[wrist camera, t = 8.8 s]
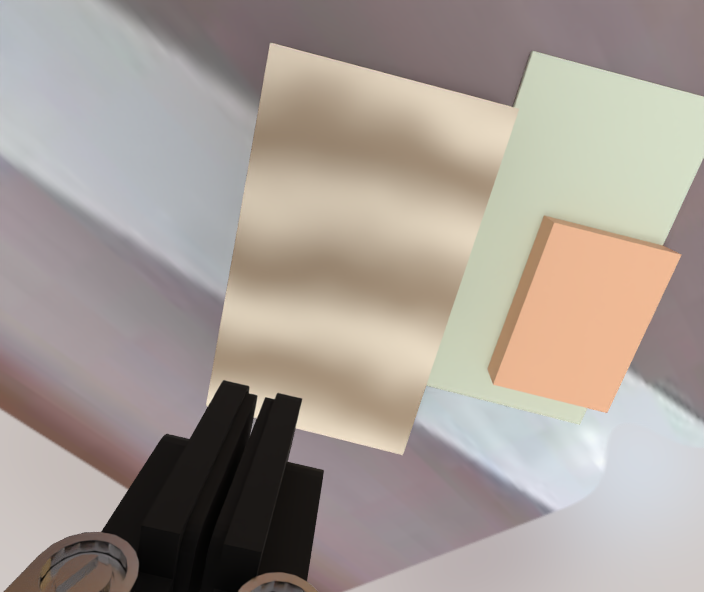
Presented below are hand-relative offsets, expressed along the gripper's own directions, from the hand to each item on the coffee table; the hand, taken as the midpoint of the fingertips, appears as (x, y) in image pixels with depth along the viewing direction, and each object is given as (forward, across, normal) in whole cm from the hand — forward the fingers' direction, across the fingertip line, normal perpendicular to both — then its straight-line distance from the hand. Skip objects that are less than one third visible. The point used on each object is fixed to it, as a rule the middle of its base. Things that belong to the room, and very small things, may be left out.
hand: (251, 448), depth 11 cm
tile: (+19, -15, +2) cm, 24 cm away
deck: (+22, -1, +2) cm, 22 cm away
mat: (+22, -13, -1) cm, 25 cm away
